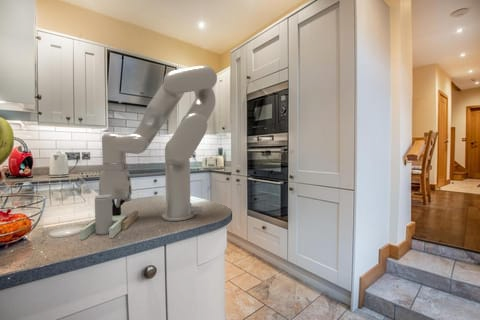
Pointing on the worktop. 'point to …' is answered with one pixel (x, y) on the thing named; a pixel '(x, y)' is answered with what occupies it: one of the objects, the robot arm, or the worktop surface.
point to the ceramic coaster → (66, 231)
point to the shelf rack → (127, 220)
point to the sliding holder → (112, 230)
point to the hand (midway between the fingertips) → (116, 217)
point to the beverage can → (103, 214)
